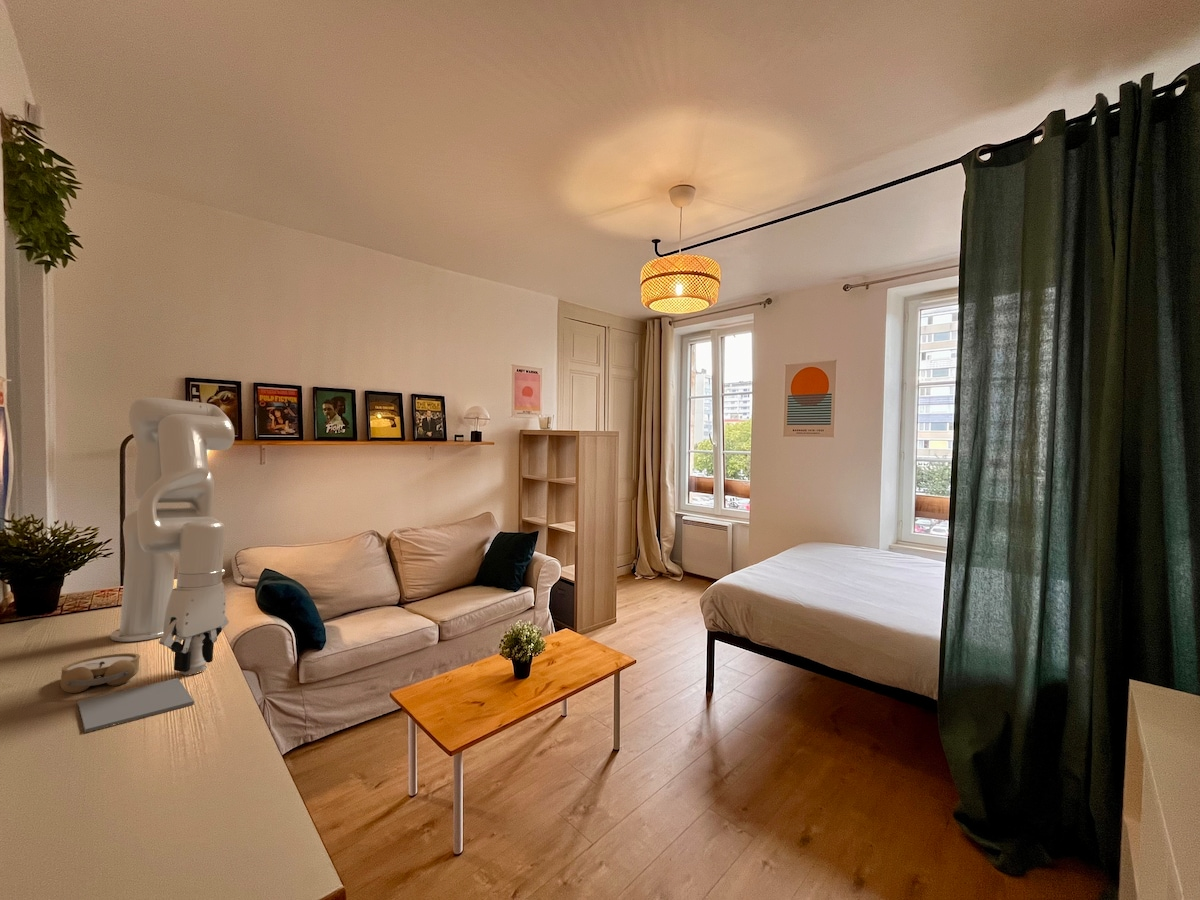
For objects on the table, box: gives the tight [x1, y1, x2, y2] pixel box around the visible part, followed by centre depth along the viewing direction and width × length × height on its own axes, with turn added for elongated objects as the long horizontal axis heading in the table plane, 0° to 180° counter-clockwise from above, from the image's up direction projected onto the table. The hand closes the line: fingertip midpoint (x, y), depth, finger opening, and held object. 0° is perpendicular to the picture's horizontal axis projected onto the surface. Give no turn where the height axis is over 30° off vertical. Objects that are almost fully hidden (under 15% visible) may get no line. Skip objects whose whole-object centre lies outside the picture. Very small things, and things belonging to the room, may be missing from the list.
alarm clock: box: [59, 652, 141, 694], centre depth 99 cm, size 11×5×15 cm
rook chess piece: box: [179, 633, 207, 676], centre depth 105 cm, size 4×4×8 cm
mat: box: [77, 677, 195, 734], centre depth 90 cm, size 14×14×1 cm
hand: (193, 665), depth 105 cm, fingers closed on rook chess piece, 4 cm apart
